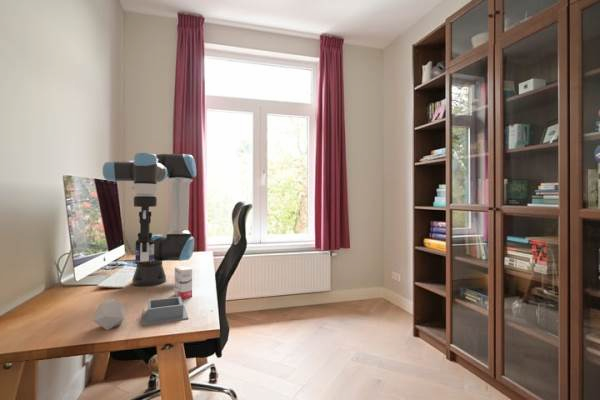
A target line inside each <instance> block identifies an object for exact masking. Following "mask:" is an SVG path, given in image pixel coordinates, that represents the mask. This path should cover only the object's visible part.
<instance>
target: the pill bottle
mask: <svg viewBox="0 0 600 400" xmlns="http://www.w3.org/2000/svg"><path fill="white" fill-rule="evenodd" d="M152 235H153V232H149V234H148V239H149V261H140V243H138V241H140V232H138V233H137V237H138V238H139V239H136V240H135V254H134V255H135V260H134V261H135V265H137V264H139V265H144V264H151V263H153V262H154V240H153V239H151V237H152Z"/></svg>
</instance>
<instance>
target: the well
mask: <svg viewBox="0 0 600 400" xmlns="http://www.w3.org/2000/svg"><path fill="white" fill-rule="evenodd" d="M182 299H183V298H182ZM182 299H181V297H178V296H175V297H174V296H173V297H163V298H156V299H148V300H147V310H142V320H141V323H142V324H141V326H149V325H156V324H157V325H158V324H163V323H164V324H165V323H170V322H176V321H177V322H178V321H185V320H189V316H188V312H187V309H186V306H185V305H184V303H183V300H182Z"/></svg>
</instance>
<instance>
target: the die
mask: <svg viewBox="0 0 600 400" xmlns="http://www.w3.org/2000/svg"><path fill="white" fill-rule="evenodd" d="M127 309H128V307H127V306H126V305H124V304H122V303H121V302H119V301H118V300H116V299H115V298H111V299H108V300H106V301H103V302H101V303H99V305H98V307H97V309H96V312H95V314H94V316H93V319H92V322H93V323H95V324H97V325H99V326H100V327H102V328H103V329H105V330H106V331H109V330H111V329H113V328H116V327H117V326H120V325H121V324H122V322H123V321H124V318H125V315H126V313H127Z"/></svg>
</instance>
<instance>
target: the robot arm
mask: <svg viewBox="0 0 600 400" xmlns="http://www.w3.org/2000/svg"><path fill="white" fill-rule="evenodd" d="M195 160H196V159H195V157H194V156H193V155H191V154H186V153H173V154H172V153H158V154H155V153H151V152H137V153H135V154H134V157H133V159H131V160H123V161H114V160H113V161H106V162H104V163H103V165H102V176H103V177H104V178H103V179H105V180H106V181H108V182H133V186H132V187H131V189H132V190H133V195H134V197H133V206H134V207H136V208H140V209H141V211H138V218H139V224H140V225H139V226H140V227H139V229H140V232H139V233H140V241H138V243H140V261H149V239H148V234H149V233H150V226H151V221H152V220H151V218H152V211H150V208H151V207H152V208H153V207H157V206H158V205H157V204H158V203H157V196H156V195H158V183H160V182H161V183H162V182H163V181H165V180H166V178H167V177H168V180H169V182H170V184H171V188H170V189H171V191H170V192H171V193H170V195H171V196H170V217H169V218H170V219H169V221H170V222H169V230H168V232H167V233H166V236H165V237H164V236H163V234H161V233H160V234H159V233H158V234H152V237H151V239H153V240H154V262H153V263H151V264H144V265H139V264H135V265H136V267H135V270H134V274H133V277H132V279H131V280H132V282H131V283H132V285H133V286H137V287H138V286H139V287H148V286H156V285H160V284H163V283H165V282H166V281H167V275H166V272H165V269H164V267H163V262H165V261H167V262H170V261H171V262H173V261H174V262H175V261H180V262H182V261H189V260H190V259H191V258H192V256H193V253H194V249H195V237H193V236H192V233H191V232H190V231H189V215H190V214H189V213H190V212H189V211H190V184H191V183H192V182H193V181H194V180H193V179H194V178H195V177H197V166H196V161H195ZM138 239H139V238H138ZM138 239H137V240H138Z"/></svg>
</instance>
